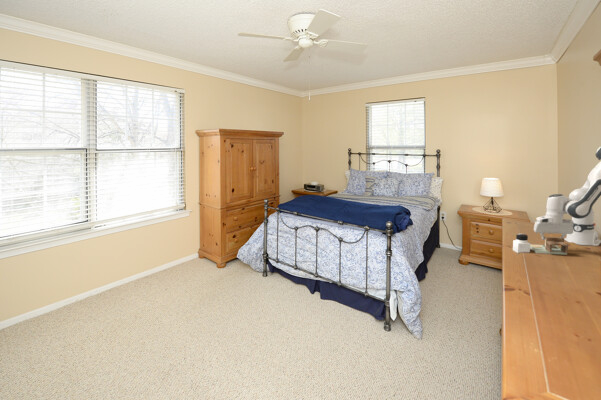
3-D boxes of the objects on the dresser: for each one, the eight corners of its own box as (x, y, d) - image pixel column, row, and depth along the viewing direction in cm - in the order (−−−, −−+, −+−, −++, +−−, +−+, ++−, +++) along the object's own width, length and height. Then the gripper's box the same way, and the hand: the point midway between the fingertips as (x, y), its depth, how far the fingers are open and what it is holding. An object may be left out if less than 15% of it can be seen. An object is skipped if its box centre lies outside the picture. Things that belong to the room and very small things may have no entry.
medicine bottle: (530, 253, 195) (531, 235, 194) (517, 253, 197) (518, 235, 195) (524, 250, 202) (525, 233, 201) (512, 250, 204) (513, 233, 202)
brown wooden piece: (562, 250, 192) (563, 238, 191) (567, 253, 186) (568, 241, 185) (545, 249, 196) (546, 237, 194) (549, 252, 189) (550, 240, 188)
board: (556, 249, 202) (557, 245, 201) (566, 256, 188) (567, 252, 188) (527, 247, 208) (528, 243, 207) (535, 254, 194) (535, 250, 193)
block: (552, 248, 201) (553, 239, 200) (555, 250, 197) (556, 241, 196) (544, 247, 203) (545, 239, 202) (547, 249, 198) (547, 241, 198)
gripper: (571, 218, 195) (569, 239, 197) (533, 217, 202) (531, 237, 204) (576, 220, 189) (574, 242, 191) (537, 219, 196) (535, 240, 198)
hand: (552, 239), depth 198 cm, fingers open, 8 cm apart
